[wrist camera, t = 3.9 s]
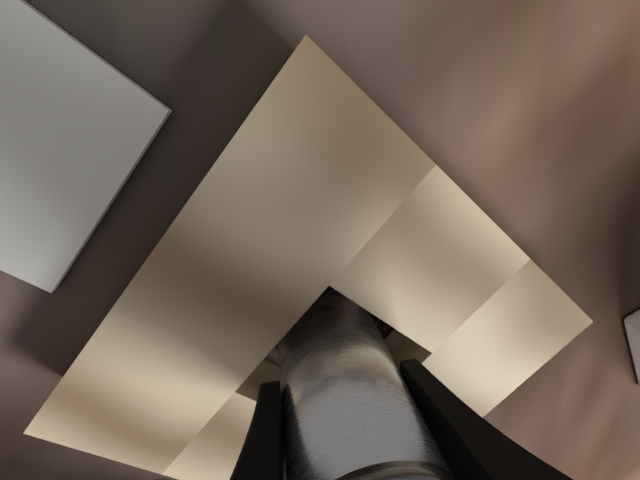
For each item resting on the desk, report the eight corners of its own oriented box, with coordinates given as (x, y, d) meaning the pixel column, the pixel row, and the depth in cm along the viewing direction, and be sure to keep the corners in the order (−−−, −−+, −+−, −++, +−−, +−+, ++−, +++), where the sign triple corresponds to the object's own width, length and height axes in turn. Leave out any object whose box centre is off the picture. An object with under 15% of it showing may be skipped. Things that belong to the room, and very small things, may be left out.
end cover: (325, 381, 16) (377, 610, 9) (257, 338, 14) (250, 578, 7) (389, 323, 15) (504, 523, 8) (325, 271, 14) (396, 463, 6)
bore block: (341, 480, 19) (351, 530, 17) (63, 378, 14) (23, 433, 11) (546, 291, 16) (593, 321, 14) (296, 49, 10) (306, 34, 8)
